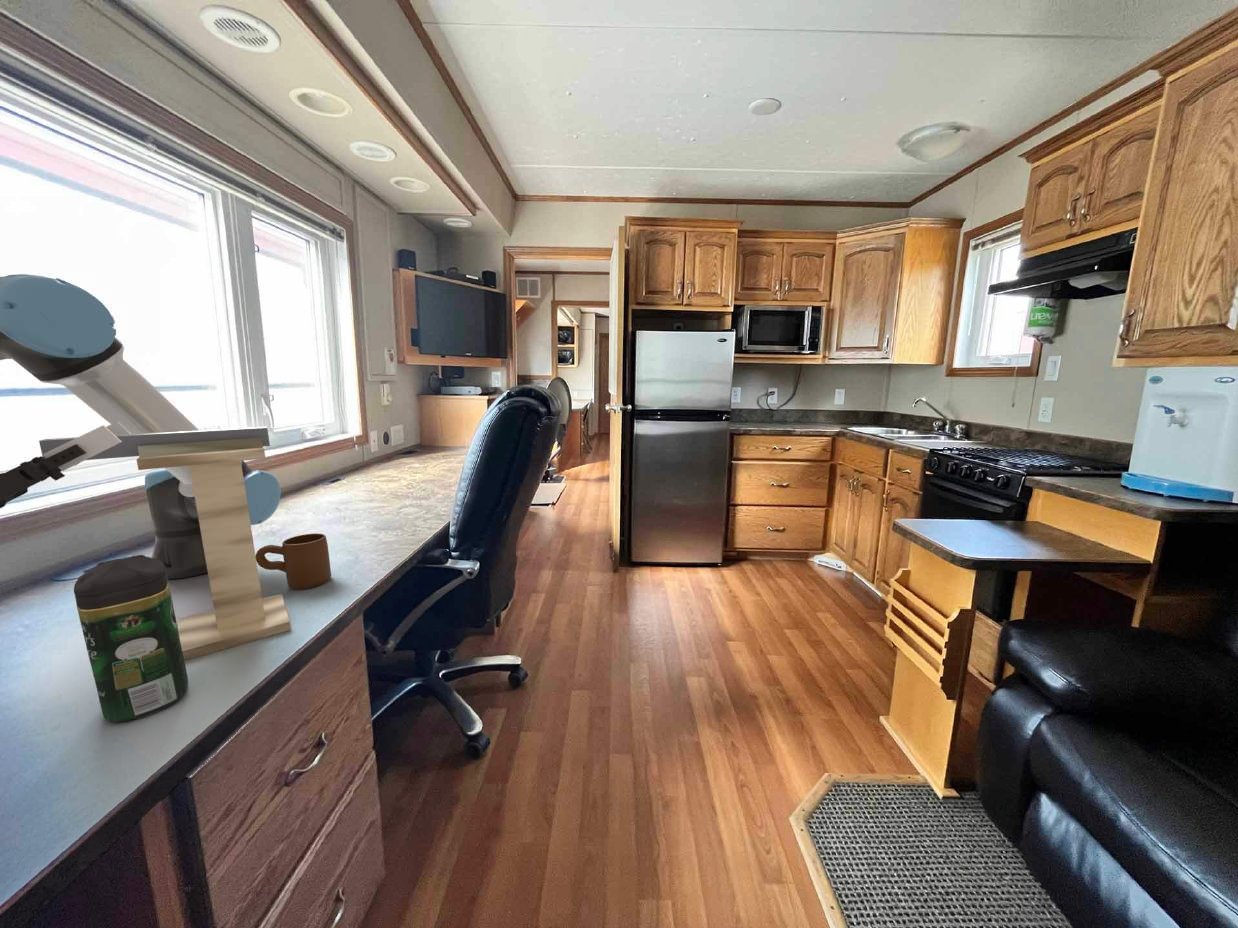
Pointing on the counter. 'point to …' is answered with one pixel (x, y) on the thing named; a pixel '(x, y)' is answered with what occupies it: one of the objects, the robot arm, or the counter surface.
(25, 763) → the counter surface
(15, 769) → the counter surface
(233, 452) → the stand
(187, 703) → the counter surface
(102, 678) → the coffee jar
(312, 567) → the mug
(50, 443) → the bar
